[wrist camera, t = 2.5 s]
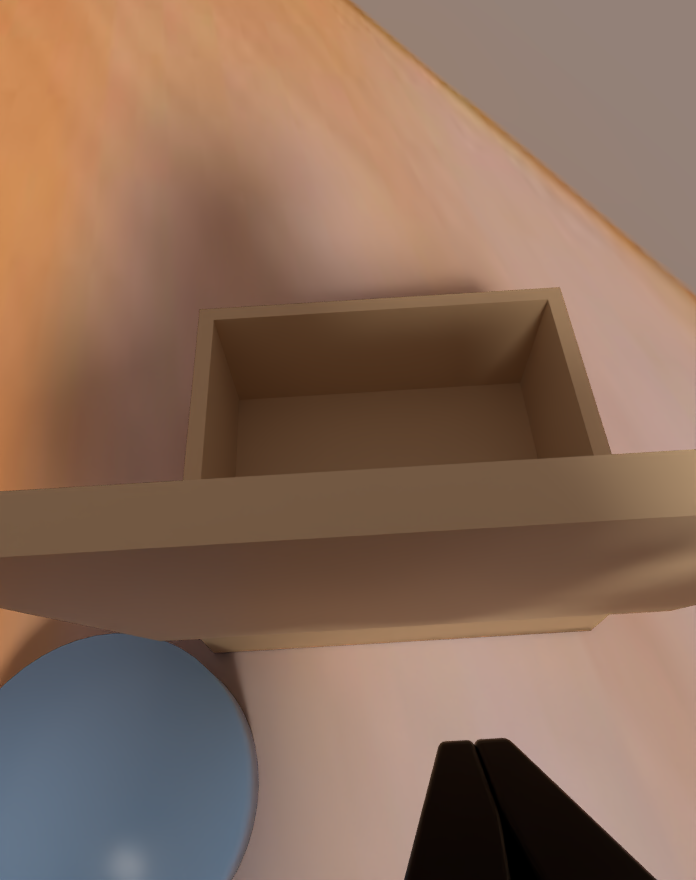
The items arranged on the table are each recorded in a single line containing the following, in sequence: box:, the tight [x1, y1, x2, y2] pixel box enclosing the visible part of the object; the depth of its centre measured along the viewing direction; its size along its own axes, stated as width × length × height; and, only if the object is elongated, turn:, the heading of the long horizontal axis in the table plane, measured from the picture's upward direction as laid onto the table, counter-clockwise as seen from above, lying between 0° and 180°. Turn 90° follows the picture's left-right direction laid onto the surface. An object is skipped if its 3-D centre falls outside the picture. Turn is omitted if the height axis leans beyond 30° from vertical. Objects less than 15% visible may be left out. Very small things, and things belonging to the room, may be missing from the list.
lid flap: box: [0, 449, 696, 641], centre depth 10 cm, size 10×12×1 cm
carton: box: [183, 287, 611, 653], centre depth 20 cm, size 10×12×5 cm
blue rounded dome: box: [0, 633, 259, 880], centre depth 17 cm, size 8×8×2 cm
